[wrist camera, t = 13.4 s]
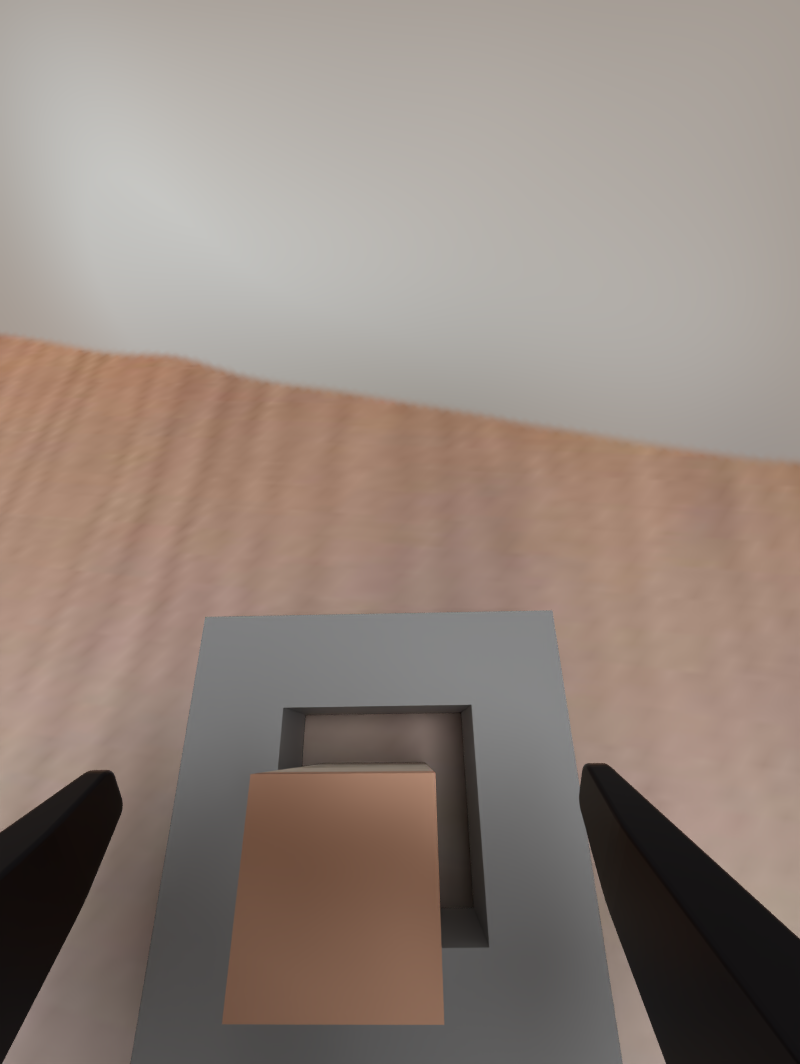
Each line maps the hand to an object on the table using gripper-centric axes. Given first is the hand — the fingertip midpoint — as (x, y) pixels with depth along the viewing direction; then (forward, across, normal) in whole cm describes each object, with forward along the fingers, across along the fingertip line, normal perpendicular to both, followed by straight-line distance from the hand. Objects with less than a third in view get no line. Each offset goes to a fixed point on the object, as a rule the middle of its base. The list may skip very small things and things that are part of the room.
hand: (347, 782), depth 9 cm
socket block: (+8, 0, +10) cm, 12 cm away
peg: (+7, 0, +10) cm, 13 cm away
